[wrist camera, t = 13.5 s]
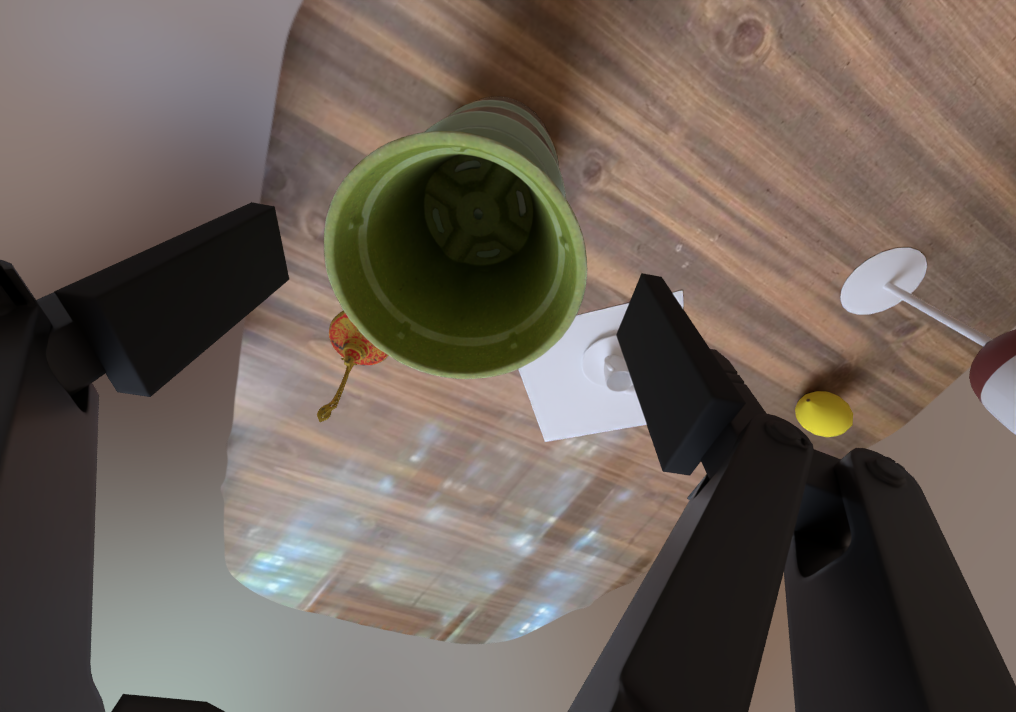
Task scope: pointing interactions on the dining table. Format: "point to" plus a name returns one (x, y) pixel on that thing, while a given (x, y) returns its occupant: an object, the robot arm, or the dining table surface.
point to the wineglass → (894, 276)
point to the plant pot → (455, 255)
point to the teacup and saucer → (584, 379)
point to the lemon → (824, 414)
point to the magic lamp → (349, 354)
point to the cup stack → (504, 140)
